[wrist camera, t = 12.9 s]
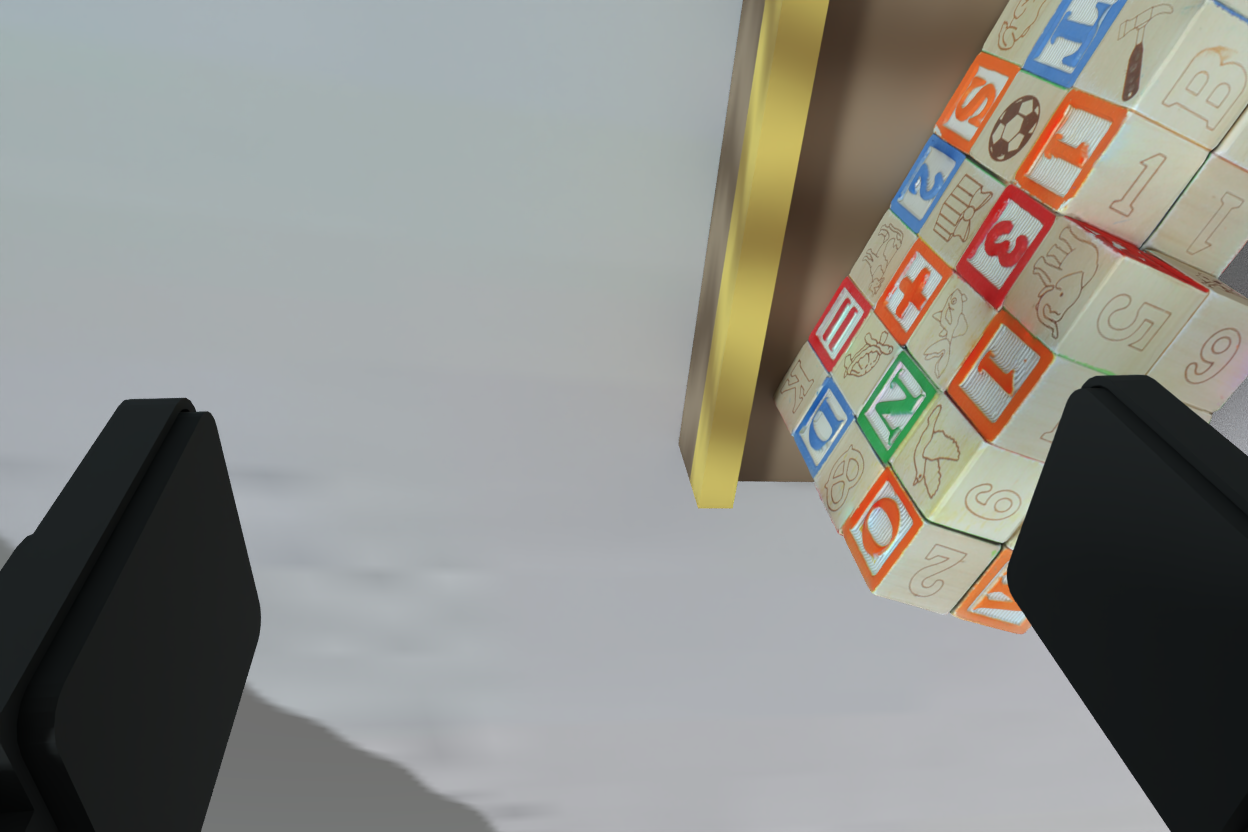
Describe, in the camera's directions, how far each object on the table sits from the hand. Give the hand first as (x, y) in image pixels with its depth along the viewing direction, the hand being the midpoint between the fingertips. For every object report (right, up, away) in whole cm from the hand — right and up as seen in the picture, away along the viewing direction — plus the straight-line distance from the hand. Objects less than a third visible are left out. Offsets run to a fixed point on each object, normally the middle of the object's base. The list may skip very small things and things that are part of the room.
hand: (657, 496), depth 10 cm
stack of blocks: (+13, +9, +25) cm, 29 cm away
